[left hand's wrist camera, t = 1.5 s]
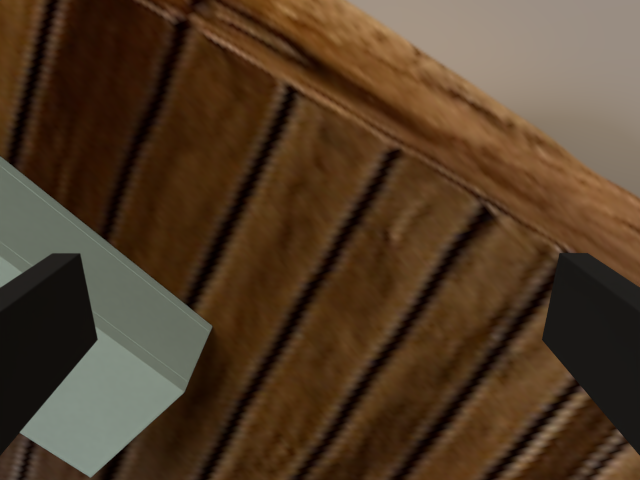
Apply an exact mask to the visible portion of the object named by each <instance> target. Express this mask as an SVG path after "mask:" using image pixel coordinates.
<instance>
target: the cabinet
mask: <svg viewBox="0 0 640 480" xmlns="http://www.w3.org/2000/svg"><path fill="white" fill-rule="evenodd" d="M52 253H80V254H81V259H82V264H83V269H84V274H85V279H86V284H87V288H88V293H89V298H90V303H91V308H92V313H93V318H94V323H95V328H96V333H97V338H98V340H97V341H96V343H95V344H94V345H93V346H92V347H91V349H90V350H89V351H88V352H87V353H86V354H85V356H84V357H83V358H82V359H81V360H80V362H79V363H78V364H77V365H76V366H75V367H74V369H73V370H72V371H71V372H70V373H69V375H68V376H67V377H66V378H65V379H64V381H63V382H62V383H61V384H60V385H59V386H58V388H57V389H56V390H55V391H54V392H53V394H52V395H51V396H50V397H49V398H48V399H47V401H46V402H45V403H44V404H43V405H42V407H41V408H40V409H39V410H38V411H37V413H36V414H35V415H34V416H33V417H32V418H31V420H30V421H29V422H28V423H27V424H26V426H25V427H24V428H23V429H22V430H21V431H20V433H21V434H23V435H24V436H26V437H27V438H29V439H30V440H32V441H34V442H35V443H37V444H38V445H40V446H42V447H43V448H45V449H46V450H48V451H49V452H51V453H53V454H54V455H56V456H57V457H59V458H60V459H62V460H64V461H65V462H67V463H68V464H70V465H72V466H73V467H75V468H76V469H78V470H79V471H81V472H83V473H84V474H86V475H87V476H89V477H92V476H93V475H94V474H95V473H96V472H97V471H99V470H100V469H101V468H102V467H103V466H104V465H105V464H106V463H107V462H108V461H110V460H111V459H112V458H113V457H114V456H115V455H116V454H117V453H118V452H119V451H121V450H122V449H123V448H124V447H125V446H126V445H127V444H128V443H129V442H130V441H132V440H133V439H134V438H135V437H136V436H137V435H138V434H139V433H140V432H141V431H142V430H144V429H145V428H146V427H147V426H148V425H149V424H150V423H151V422H152V421H153V420H155V419H156V418H157V417H158V416H159V415H160V414H161V413H162V412H163V411H164V410H166V409H167V408H168V407H169V406H170V405H171V404H172V403H173V402H174V401H175V400H177V399H178V398H179V397H180V396H181V395H182V394H183V393H184V392H185V390H186V387H187V385H188V382H189V380H190V377H191V375H192V373H193V371H194V368H195V366H196V364H197V361H198V359H199V357H200V354H201V352H202V350H203V347H204V345H205V343H206V340H207V338H208V336H209V333H210V331H211V329H212V325H210V324H209V323H208V322H207V321H205V320H204V319H203V318H202V317H200V316H199V315H198V314H197V313H195V312H194V311H193V310H192V309H190V308H189V307H188V306H187V305H185V304H184V303H183V302H182V301H180V300H179V299H178V298H177V297H175V296H174V295H173V294H172V293H170V292H169V291H168V290H167V289H165V288H164V287H163V286H162V285H160V284H159V283H158V282H157V281H155V280H154V279H153V278H152V277H150V276H149V275H148V274H147V273H145V272H144V271H143V270H142V269H140V268H139V267H138V266H137V265H135V264H134V263H133V262H132V261H130V260H129V259H128V258H127V257H125V256H124V255H123V254H122V253H120V252H119V251H118V250H117V249H115V248H114V247H113V246H112V245H110V244H109V243H108V242H107V241H105V240H104V239H103V238H102V237H100V236H99V235H98V234H97V233H95V232H94V231H93V230H92V229H90V228H89V227H88V226H87V225H85V224H84V223H83V222H82V221H80V220H79V219H78V218H77V217H75V216H74V215H73V214H72V213H70V212H69V211H68V210H67V209H65V208H64V207H63V206H62V205H60V204H59V203H58V202H57V201H55V200H54V199H53V198H52V197H50V196H49V195H48V194H47V193H45V192H44V191H43V190H42V189H40V188H39V187H38V186H37V185H35V184H34V183H33V182H32V181H30V180H29V179H28V178H27V177H25V176H24V175H23V174H22V173H20V172H19V171H18V170H17V169H15V168H14V167H13V166H12V165H10V164H9V163H8V162H7V161H5V160H4V159H3V158H2V157H0V287H2V286H3V285H5V284H6V283H8V282H9V281H11V280H13V279H14V278H16V277H17V276H19V275H20V274H22V273H23V272H25V271H26V270H28V269H29V268H31V267H32V266H34V265H35V264H37V263H38V262H40V261H41V260H43V259H44V258H46V257H47V256H49V255H50V254H52Z"/></svg>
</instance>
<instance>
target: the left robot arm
mask: <svg viewBox="0 0 640 480" xmlns="http://www.w3.org/2000/svg"><path fill="white" fill-rule="evenodd" d="M97 340H98V338H97V333H96V328H95V323H94V318H93V313H92V308H91V303H90V298H89V293H88V288H87V284H86V279H85V274H84V269H83V264H82V259H81V254H80V253H52V254H50V255H49V256H47V257H46V258H44V259H43V260H41V261H40V262H38V263H37V264H35V265H34V266H32V267H31V268H29V269H28V270H26V271H25V272H23V273H22V274H20V275H19V276H17V277H16V278H14V279H13V280H11V281H9V282H8V283H6V284H5V285H3V286H2V287H0V455H1V454H2V453H3V452H4V450H5V449H6V448H7V447H8V446H9V445H10V443H11V442H12V441H13V440H14V439H15V437H16V436H17V435H18V434H19V433H20V431H21V430H22V429H23V428H24V427H25V426H26V424H27V423H28V422H29V421H30V420H31V418H32V417H33V416H34V415H35V414H36V413H37V411H38V410H39V409H40V408H41V407H42V405H43V404H44V403H45V402H46V401H47V399H48V398H49V397H50V396H51V395H52V394H53V392H54V391H55V390H56V389H57V388H58V386H59V385H60V384H61V383H62V382H63V381H64V379H65V378H66V377H67V376H68V375H69V373H70V372H71V371H72V370H73V369H74V367H75V366H76V365H77V364H78V363H79V362H80V360H81V359H82V358H83V357H84V356H85V354H86V353H87V352H88V351H89V350H90V349H91V347H92V346H93V345H94V344H95V343H96V341H97ZM542 340H543V341H544V343H545V344H546V345H547V346H548V347H549V349H550V350H551V351H552V352H553V353H554V354H555V356H556V357H557V358H558V359H559V360H560V362H561V363H562V364H563V365H564V366H565V367H566V369H567V370H568V371H569V372H570V373H571V375H572V376H573V377H574V378H575V379H576V381H577V382H578V383H579V384H580V385H581V386H582V388H583V389H584V390H585V391H586V392H587V394H588V395H589V396H590V397H591V398H592V399H593V401H594V402H595V403H596V404H597V405H598V407H599V408H600V409H601V410H602V411H603V413H604V414H605V415H606V416H607V417H608V418H609V420H610V421H611V422H612V423H613V424H614V426H615V427H616V428H617V429H618V430H619V431H620V433H621V434H622V435H623V436H624V437H625V439H626V440H627V441H628V442H629V443H630V445H631V446H632V447H633V448H634V449H635V450H636V452H637V453H638V454H639V455H640V287H638V286H637V285H635V284H634V283H632V282H631V281H629V280H627V279H626V278H624V277H623V276H621V275H620V274H618V273H617V272H615V271H614V270H612V269H611V268H609V267H608V266H606V265H605V264H603V263H602V262H600V261H599V260H597V259H596V258H594V257H593V256H591V255H590V254H588V253H560V254H559V259H558V264H557V269H556V274H555V279H554V283H553V288H552V293H551V298H550V303H549V308H548V313H547V318H546V323H545V328H544V333H543V338H542Z"/></svg>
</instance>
